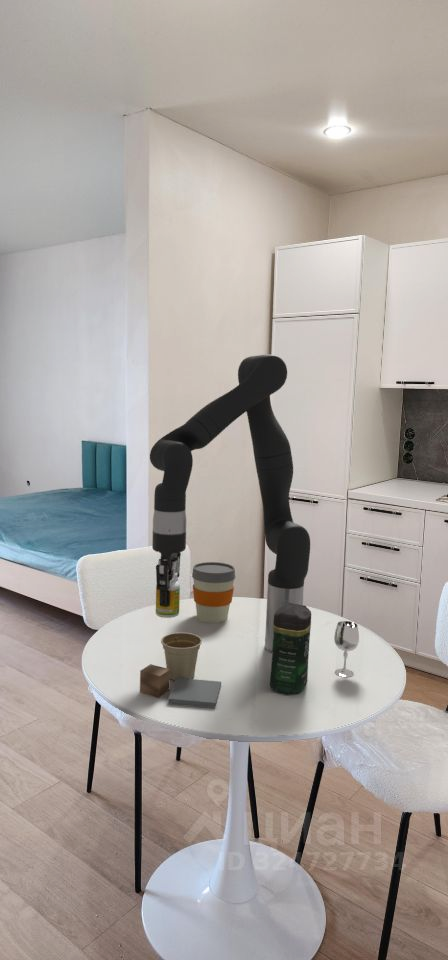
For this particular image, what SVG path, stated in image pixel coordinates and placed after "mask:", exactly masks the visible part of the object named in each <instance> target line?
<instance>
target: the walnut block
mask: <svg viewBox="0 0 448 960" xmlns="http://www.w3.org/2000/svg"><path fill="white" fill-rule="evenodd" d="M139 672H140V674H139V675H140V676H139V693H140V694H144V695H148V696H151V697H155V698H158V699H160V698H161V697H163V696H164V695H165V694H167V693H168V692H169V691H170V682H171V681H170V680H171V678H170V669H167V667H162V666H159V665H155V664H152V663H150V664H148V665H147V666H144V667H143V668H142V669H141V670H140V671H139Z"/></svg>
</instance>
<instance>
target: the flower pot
mask: <svg viewBox="0 0 448 960" xmlns="http://www.w3.org/2000/svg"><path fill="white" fill-rule="evenodd" d="M160 643H161V645H162V648H163V650H164V658H165V666H166V667H165V668H167V669H170V679H171V680H173V681H175V682H176V679H177V678H185V679H194V677H195V672H196V665H197V660H198V654H199V650H200V647H201V645H202V643H203V639H202V638H201V636H199V635H197V634H194V633H191V632H172V633H169V634H166V635H163V636H162V637H161V639H160Z"/></svg>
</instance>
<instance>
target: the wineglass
mask: <svg viewBox="0 0 448 960" xmlns="http://www.w3.org/2000/svg"><path fill="white" fill-rule="evenodd" d="M334 630H335V631H334V637H333V638H334V639H333V640H334V641H333V642H334V643H335V646H336V647H337V648H338V649H339V650H341V651H342V652H343V654H342V655H343V667H342V668H337V669H335V670H334V673H335V674H336V675H337V676H340V677H344V678H350V676H351V677H353V676H354V674H355V673H354V671H353V670H351V669H348V668H347V667H346V666H347V659H348V655H349V654H348V652H350V651H354V650H356V649H357V647H358V646H359V643H360V631H359V627H358V623H356V622H354V621H350V620H349V621H348V620H341V621H338V622H337V624H336V627H335V629H334Z"/></svg>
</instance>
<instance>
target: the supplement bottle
mask: <svg viewBox="0 0 448 960" xmlns="http://www.w3.org/2000/svg"><path fill="white" fill-rule="evenodd" d="M168 576H170V575H168ZM177 578H178V577H177V573H176V572H174V579H173V580H172V581H171V589H170V605H169V607H162V606H160V590H157V583H156V586H155V615H156V616H158V617H159V618H162V619H171V618H175V617H178V616H179V614H180V603H181V602H180V599H181V598H180V597H181V595H180V593H181V592H180V591H181V590H180V589H181V587H180V586H181V585H180V582H178V581H176V580H177ZM162 584H163V585H165V581H163V583H162Z"/></svg>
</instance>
